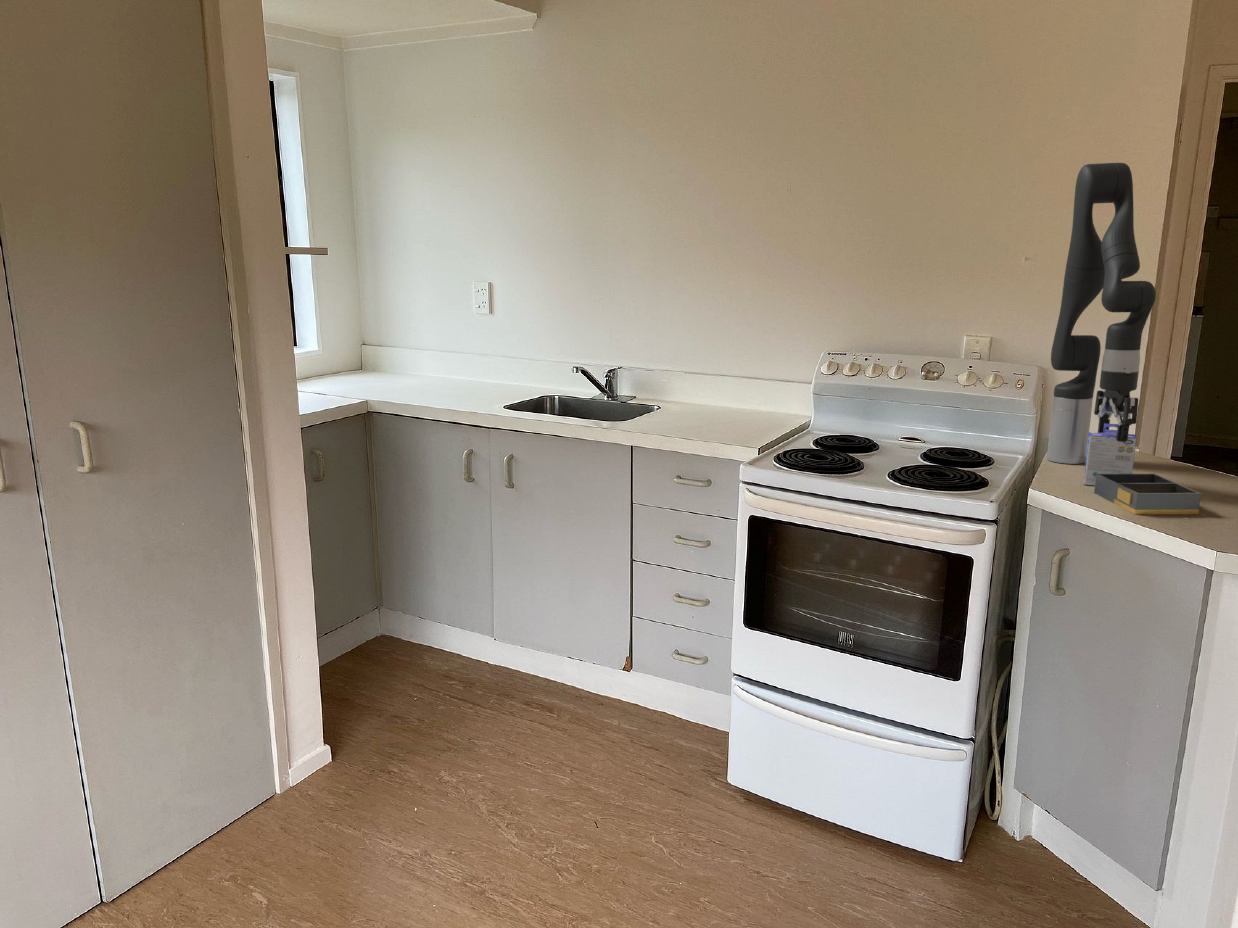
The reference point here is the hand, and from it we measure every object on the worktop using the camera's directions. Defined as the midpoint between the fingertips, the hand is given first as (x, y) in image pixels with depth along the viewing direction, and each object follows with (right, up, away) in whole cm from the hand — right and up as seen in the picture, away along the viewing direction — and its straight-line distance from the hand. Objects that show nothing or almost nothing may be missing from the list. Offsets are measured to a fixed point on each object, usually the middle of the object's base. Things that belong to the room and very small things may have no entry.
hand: (1112, 437), depth 199 cm
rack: (0, -15, -13) cm, 19 cm away
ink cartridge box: (0, -11, +3) cm, 12 cm away
